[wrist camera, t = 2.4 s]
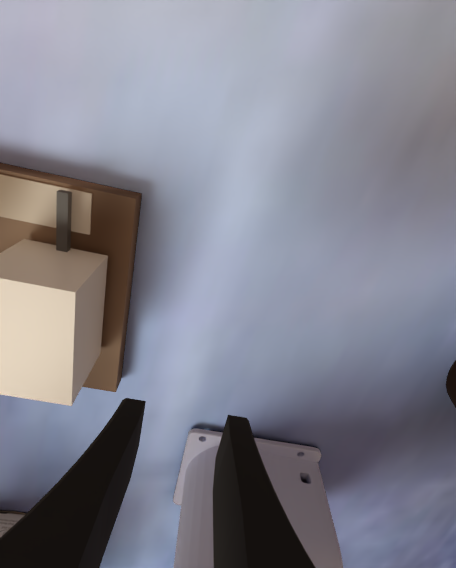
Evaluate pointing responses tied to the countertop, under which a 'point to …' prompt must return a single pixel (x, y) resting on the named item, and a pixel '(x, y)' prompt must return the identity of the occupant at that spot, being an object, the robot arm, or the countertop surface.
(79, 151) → the countertop surface
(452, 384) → the coffee mug
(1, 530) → the candy bar box
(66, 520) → the robot arm
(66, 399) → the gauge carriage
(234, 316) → the countertop surface
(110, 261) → the frame
